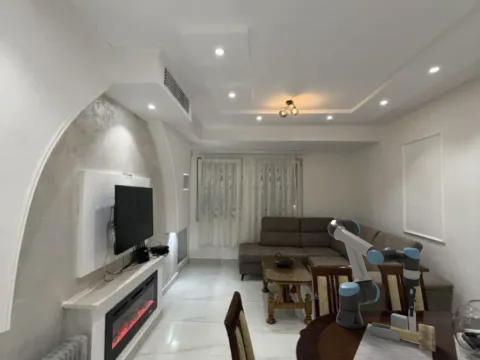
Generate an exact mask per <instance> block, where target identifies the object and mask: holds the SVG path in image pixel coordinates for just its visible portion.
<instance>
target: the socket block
mask: <svg viewBox="0 0 480 360" xmlns="http://www.w3.org/2000/svg"><path fill="white" fill-rule="evenodd" d="M418 332H419V343H418V348H419V349H422V350H425V351H431V352H435V353H436V331H435V326H432V325H428V324H424V323H423V324H422V323H418Z"/></svg>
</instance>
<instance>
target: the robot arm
mask: <svg viewBox="0 0 480 360" xmlns="http://www.w3.org/2000/svg"><path fill="white" fill-rule="evenodd" d="M327 231H328V235H330V236H331V237H332V238H333V239H335V240H336V241H340V242H342V243H344V246H345V248H346V253H347V257H348V260H349V263H350V267H351V268H350V269H351V271H352V274H353V277H354V279H353V281H352V282H351V281H346V282H343V283H340V285H339V286H338V287H339V288H338V300H339V302H338V303H339V306H338V307H339V309H338V311H337V314H336V321H335V322H336V323H337V325H339V326H341V327H342V328H346V329H354V330H355V329H361V328H363V326H364V319H363V317H362V315H361V312H360V311H361V309H360V306H361V305H365V304H366V305H367V304H372V303H375V302H377V301H378V300H379V298H380V293H381V292H380V291H381V290H380V288H379V286H378V284H376V283H375V282H373V279H372V278H371V277H370V276H369V275H368V271H367V267H366V264H365V261H364V258H363V256H364V257H366V260H367V261H368V263H370V264H371V265H382V264H383V265H384V264H392V263H393V264H394V263H395V264H396V263H397V264H400V265H403V268H402V269H403V274H402V275H403V284H404V285H405V286H407V288H406V290H407V297H408V307H407V308H406V309H407V310H408V316H407V317H408V323H409V322H410V323H415V313H416V308H415V307H416V302H417V300H416V293H417V288H418V287H420V284H421V283H420V282H421V279H420V277H421V274H422V272H420V271H421V269H420V262H421V261H420V260H421V257H420V250H419V249H418V248H414V247H404V248H403V250H402V249H399V248H398V249H397V248H394V247H385V248H384V249H380V248H378V247H376V246H375V245H373V244H371V243H369V242H367V241H366V240H364V239H362V238H361V237H359V235H360V233H361V226H360V224H359V223H358V222H357V221H356V220H354V219H350V218H346V219H345V218H343V219H332V220H331V221H329V223H328V225H327Z"/></svg>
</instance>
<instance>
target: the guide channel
mask: <svg viewBox="0 0 480 360" xmlns="http://www.w3.org/2000/svg"><path fill="white" fill-rule="evenodd" d="M392 327H393V326H392ZM390 328H391V325H388V324H384V323H383V324H382V323H378V322H373V321H372V322H371V325H370V327H369V329H370V333H369V334H370V336H371V337H375V338H379V339H383V340H388V341H392V342H396V343H399V342H400V340H401V339H399V332H397V331H392V330H390ZM397 328H398V327H397Z"/></svg>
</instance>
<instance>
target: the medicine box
mask: <svg viewBox="0 0 480 360" xmlns="http://www.w3.org/2000/svg"><path fill="white" fill-rule="evenodd" d="M390 326H393V327H398V328H401V329H406V330H409V320H408V316H406V315H402V314H398V313H391V314H390Z"/></svg>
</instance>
